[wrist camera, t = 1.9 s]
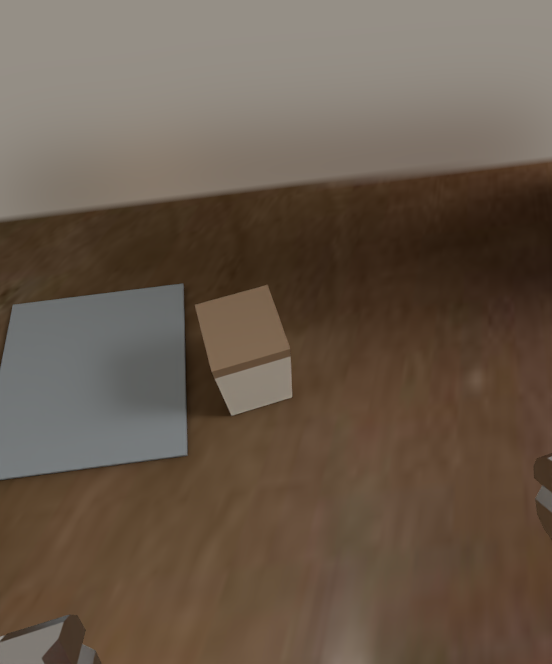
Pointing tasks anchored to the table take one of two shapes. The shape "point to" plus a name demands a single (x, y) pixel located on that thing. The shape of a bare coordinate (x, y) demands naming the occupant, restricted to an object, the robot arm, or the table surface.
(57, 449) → the slate mat
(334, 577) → the table surface
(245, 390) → the cream block
